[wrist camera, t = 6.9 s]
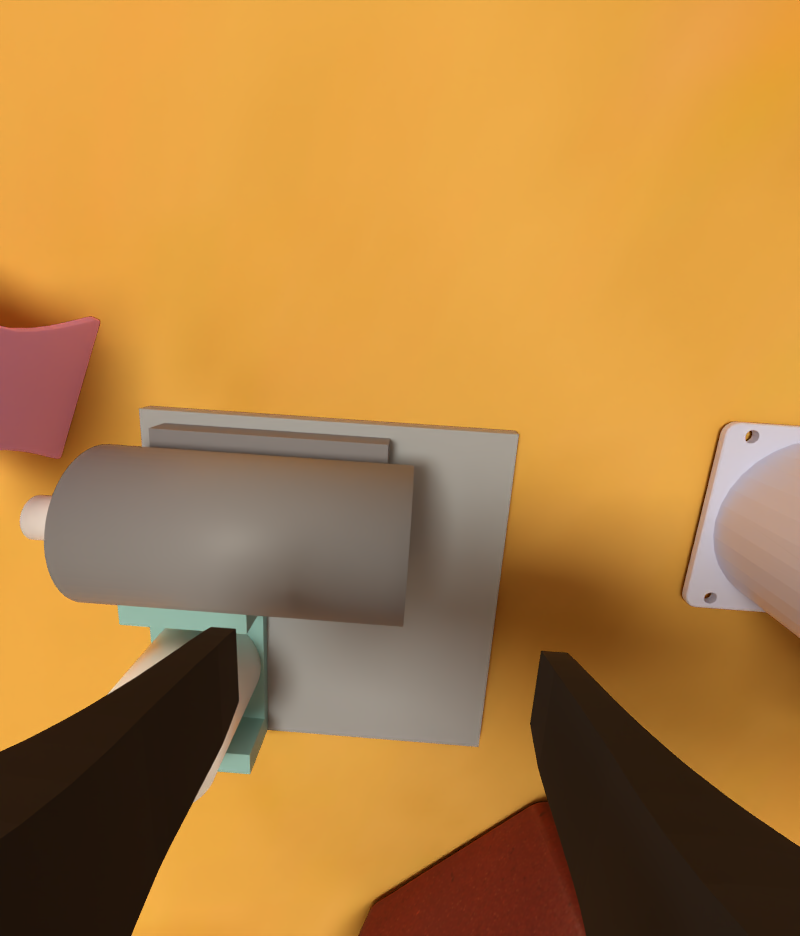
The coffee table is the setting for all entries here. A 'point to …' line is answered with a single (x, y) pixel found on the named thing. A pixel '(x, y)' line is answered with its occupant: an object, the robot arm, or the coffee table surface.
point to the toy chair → (42, 383)
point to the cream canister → (246, 679)
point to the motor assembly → (301, 560)
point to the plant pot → (490, 888)
